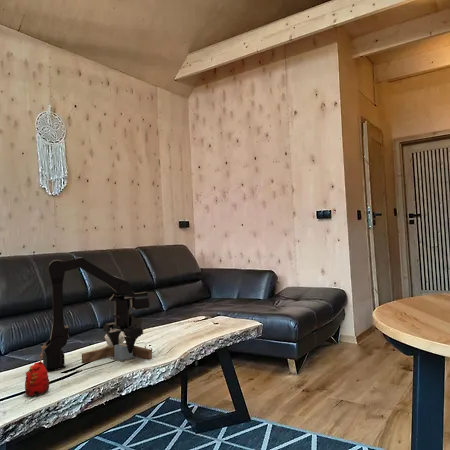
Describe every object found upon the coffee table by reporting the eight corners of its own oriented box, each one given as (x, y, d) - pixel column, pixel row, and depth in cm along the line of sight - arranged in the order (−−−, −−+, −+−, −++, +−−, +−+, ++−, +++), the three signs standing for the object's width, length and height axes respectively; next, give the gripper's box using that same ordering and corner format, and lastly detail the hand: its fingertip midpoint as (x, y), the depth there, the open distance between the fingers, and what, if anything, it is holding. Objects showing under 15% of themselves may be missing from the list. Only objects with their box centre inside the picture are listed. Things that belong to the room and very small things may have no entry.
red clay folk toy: (23, 391, 130) (22, 343, 131) (47, 386, 134) (46, 340, 134) (26, 399, 124) (25, 348, 124) (51, 394, 127) (50, 344, 128)
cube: (132, 357, 164) (132, 344, 164) (121, 360, 160) (121, 347, 160) (125, 355, 167) (124, 342, 167) (114, 358, 163) (114, 345, 163)
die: (114, 351, 177) (127, 331, 180) (98, 341, 178) (111, 321, 181) (119, 353, 184) (131, 334, 187) (103, 343, 186) (115, 324, 189)
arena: (109, 371, 147) (109, 361, 147) (81, 362, 159) (81, 353, 159) (152, 358, 161) (151, 349, 162) (123, 351, 174) (123, 342, 174)
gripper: (153, 310, 164) (154, 350, 163) (125, 306, 176) (126, 343, 176) (130, 314, 156) (131, 357, 155) (102, 310, 168) (103, 349, 167)
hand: (123, 351), depth 164 cm, fingers open, 9 cm apart
